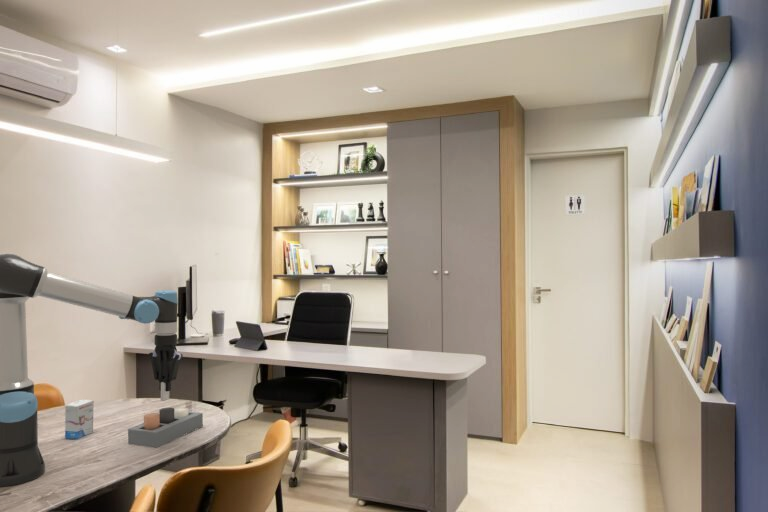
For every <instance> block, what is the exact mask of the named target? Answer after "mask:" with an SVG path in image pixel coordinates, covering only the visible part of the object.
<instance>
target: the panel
mask: <svg viewBox="0 0 768 512" xmlns="http://www.w3.org/2000/svg"><path fill="white" fill-rule="evenodd" d="M203 415H204V413H203V412H196V411H188V416H186V417H184V418H178V417H174V422H172V423H169V424H164V423H160V428H157V429H155V430H145V429H144V422H143V423H140V424H137V425H135V426H132V427H130V428H128V429H127V441H128V442H127V444H128V445H134V446H135V445H136V446H142V447H143V446H144V447H147V448H159V447H162V446H163V445H166V444H168V443H171V442H172V441H174V440H176V438H177V439H178V437H179V438H180V436H181V437H183V436H185V435H187V434H190V433H191V431H192V432H194V431H196V430H198V429H200V428H199V427H201V426H203V419H204V417H203ZM197 428H198V429H197ZM201 428H202V427H201ZM195 429H196V430H195ZM193 430H194V431H193ZM189 432H190V433H189ZM186 433H187V434H186ZM184 434H185V435H184ZM182 435H183V436H182Z"/></svg>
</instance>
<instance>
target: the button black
mask: <svg viewBox="0 0 768 512" xmlns="http://www.w3.org/2000/svg"><path fill="white" fill-rule="evenodd" d="M174 410H175V408H174V407H164V408H160V409H159V411H158V412H159V413H158V414H159V418H160V423H164V424H169V423H172V422H174Z"/></svg>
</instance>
